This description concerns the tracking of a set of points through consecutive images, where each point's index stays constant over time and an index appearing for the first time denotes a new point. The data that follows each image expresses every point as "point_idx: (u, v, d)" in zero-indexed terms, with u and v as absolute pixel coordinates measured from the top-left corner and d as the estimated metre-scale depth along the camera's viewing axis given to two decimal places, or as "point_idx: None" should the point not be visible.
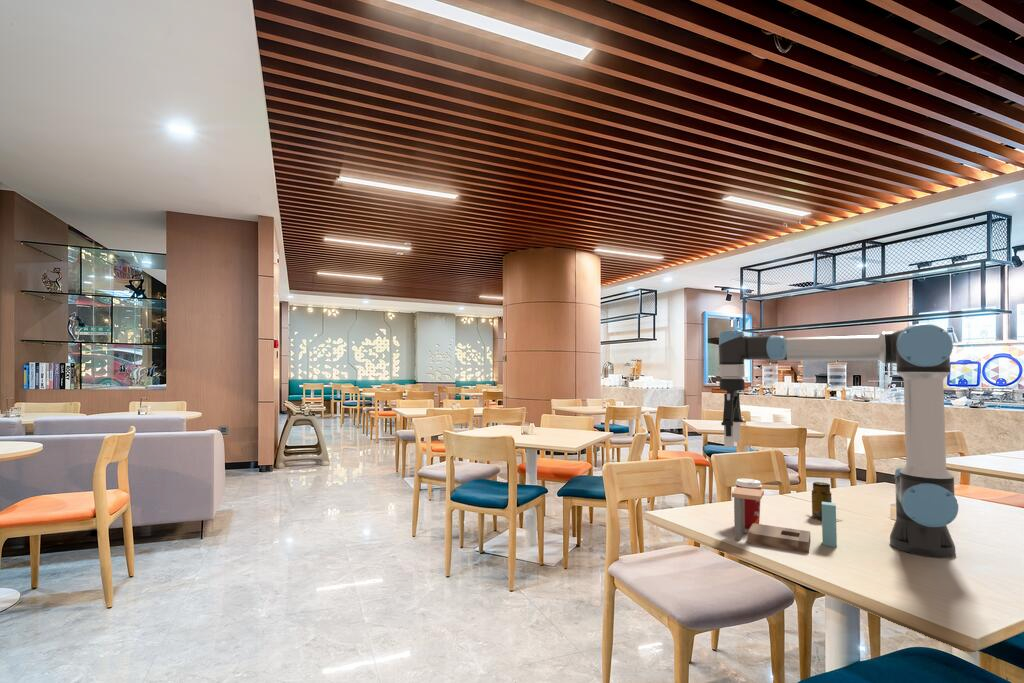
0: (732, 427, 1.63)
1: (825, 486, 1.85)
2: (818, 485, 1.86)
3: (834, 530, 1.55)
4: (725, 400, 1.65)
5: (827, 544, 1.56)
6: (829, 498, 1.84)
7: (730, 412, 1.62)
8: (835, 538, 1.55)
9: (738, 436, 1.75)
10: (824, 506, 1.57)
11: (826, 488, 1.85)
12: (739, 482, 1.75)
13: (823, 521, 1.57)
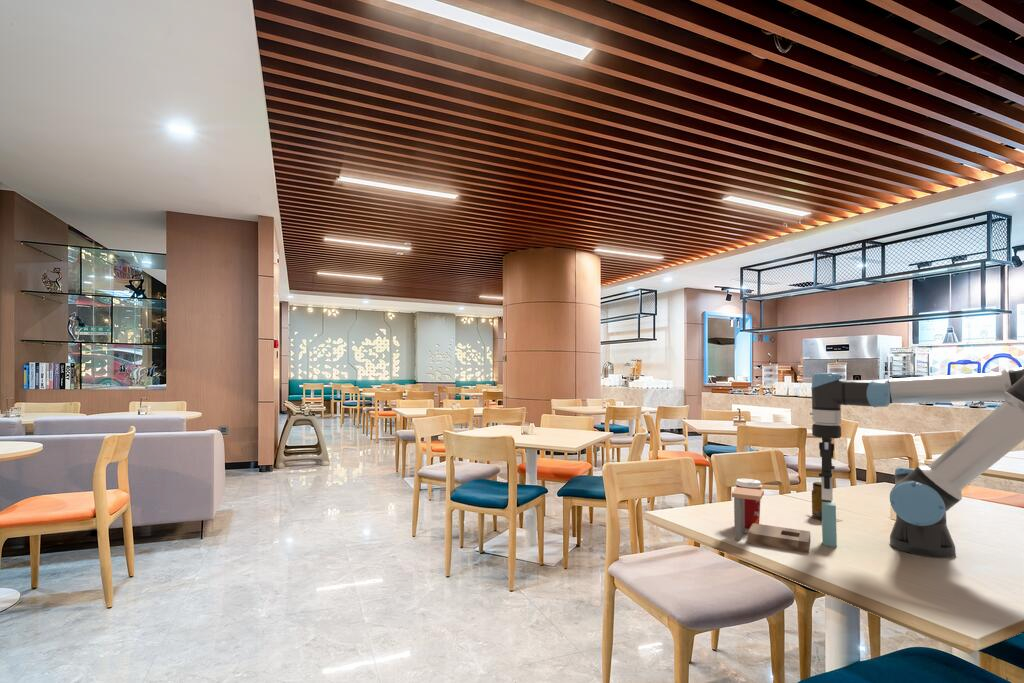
0: (831, 479, 1.52)
1: None
2: (818, 485, 1.86)
3: (834, 530, 1.55)
4: (822, 449, 1.53)
5: (827, 544, 1.56)
6: None
7: (829, 463, 1.51)
8: (835, 538, 1.55)
9: None
10: (824, 506, 1.57)
11: None
12: (739, 482, 1.75)
13: (823, 521, 1.57)
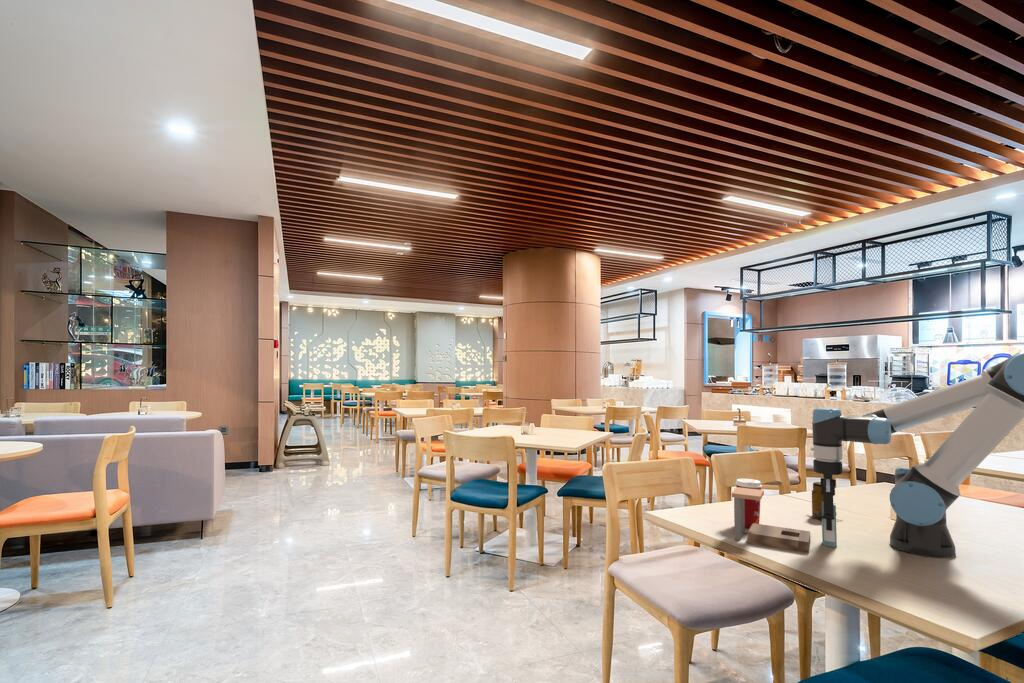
0: (833, 521, 1.55)
1: None
2: (818, 485, 1.86)
3: None
4: (824, 492, 1.54)
5: (827, 544, 1.56)
6: None
7: (831, 506, 1.53)
8: (835, 538, 1.55)
9: None
10: None
11: None
12: (739, 482, 1.75)
13: (823, 521, 1.57)
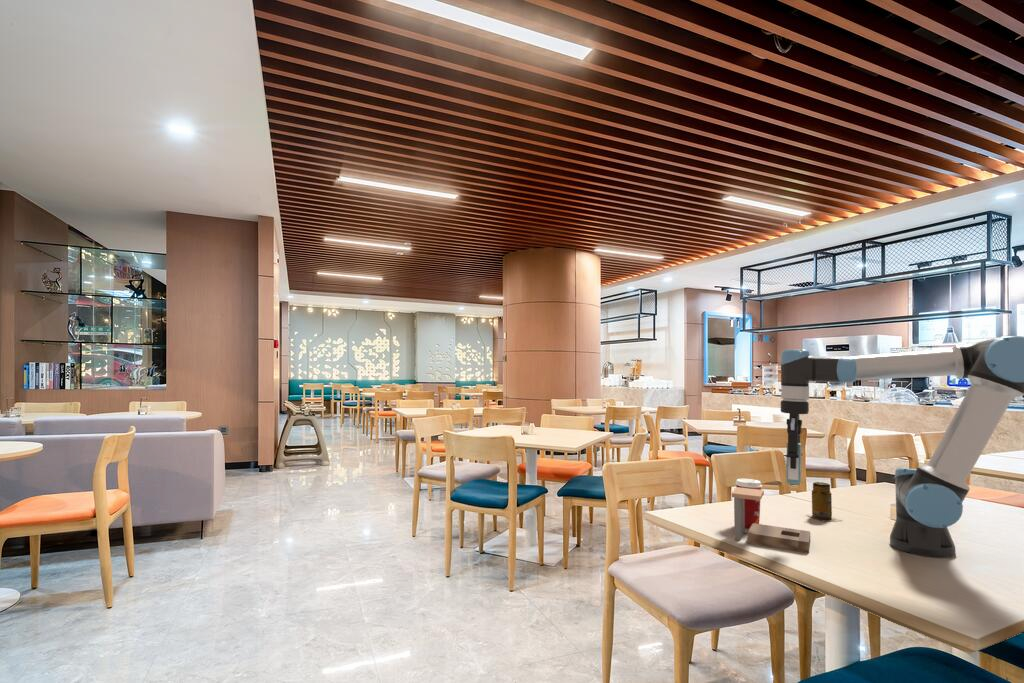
0: (797, 459, 1.57)
1: (825, 486, 1.85)
2: (818, 485, 1.86)
3: None
4: (788, 430, 1.55)
5: (791, 482, 1.58)
6: (829, 498, 1.84)
7: (795, 444, 1.54)
8: (799, 476, 1.57)
9: None
10: None
11: (826, 488, 1.85)
12: (739, 482, 1.75)
13: None
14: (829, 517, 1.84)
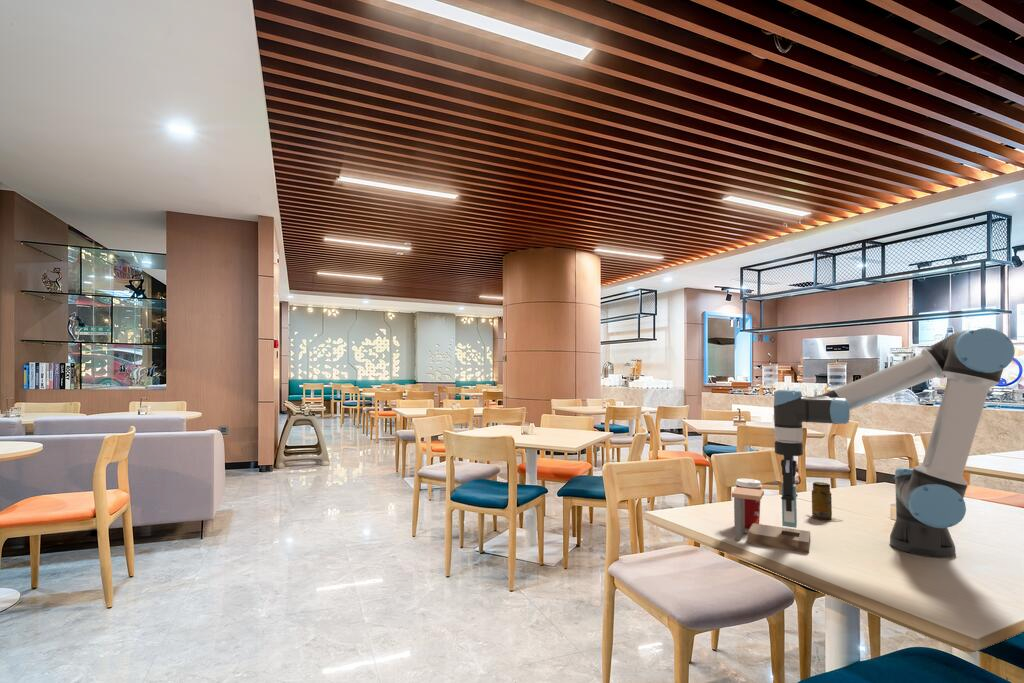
0: (793, 501, 1.55)
1: (825, 486, 1.85)
2: (818, 485, 1.86)
3: None
4: (783, 473, 1.54)
5: (787, 525, 1.57)
6: (829, 498, 1.84)
7: (790, 487, 1.53)
8: None
9: None
10: None
11: (826, 488, 1.85)
12: (739, 482, 1.75)
13: (783, 502, 1.57)
14: (829, 517, 1.84)
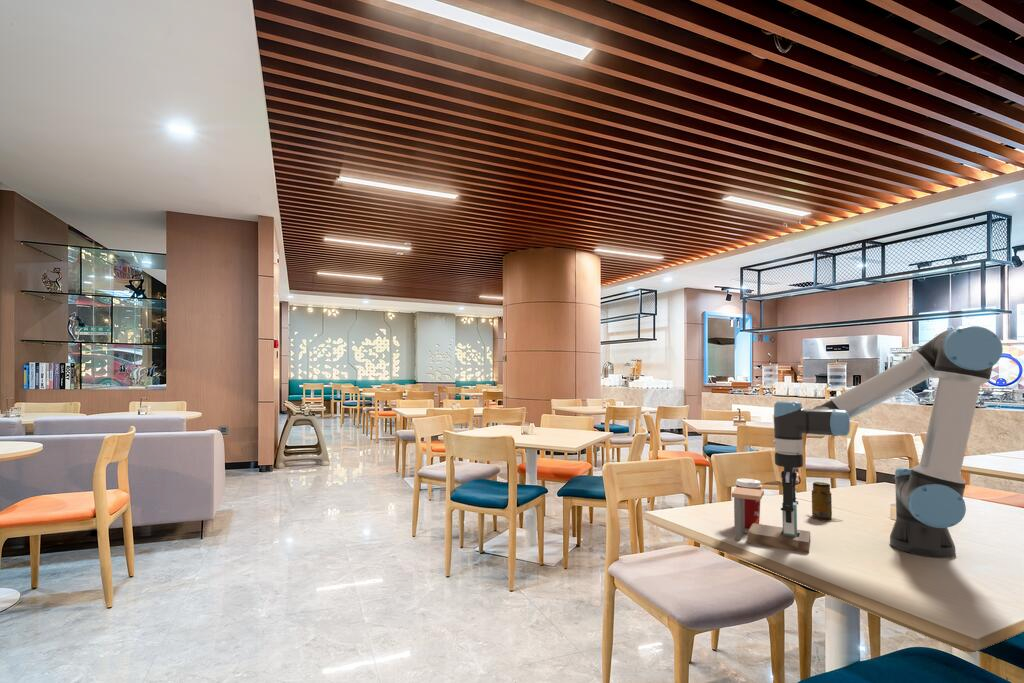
0: (792, 513, 1.53)
1: (825, 486, 1.85)
2: (818, 485, 1.86)
3: (794, 530, 1.55)
4: (783, 483, 1.53)
5: None
6: (829, 498, 1.84)
7: (790, 497, 1.52)
8: None
9: None
10: None
11: (826, 488, 1.85)
12: (739, 482, 1.75)
13: None
14: (829, 517, 1.84)
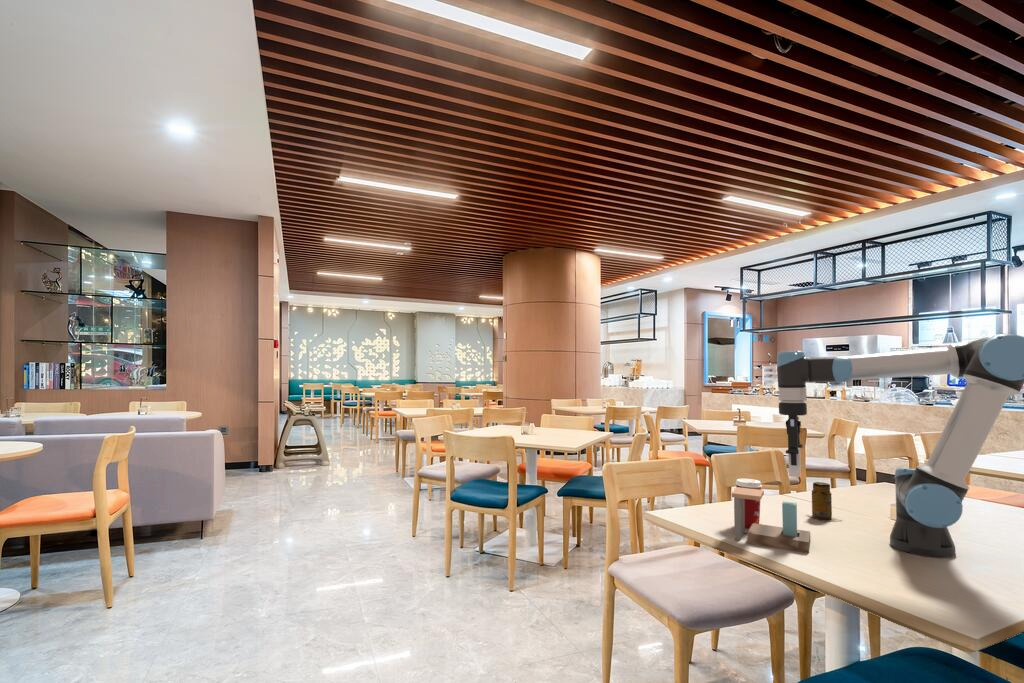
0: (797, 455, 1.53)
1: (825, 486, 1.85)
2: (818, 485, 1.86)
3: (794, 530, 1.55)
4: (788, 426, 1.54)
5: None
6: (829, 498, 1.84)
7: (795, 439, 1.52)
8: None
9: (798, 463, 1.64)
10: (785, 505, 1.57)
11: (826, 488, 1.85)
12: (739, 482, 1.75)
13: (783, 521, 1.57)
14: (829, 517, 1.84)
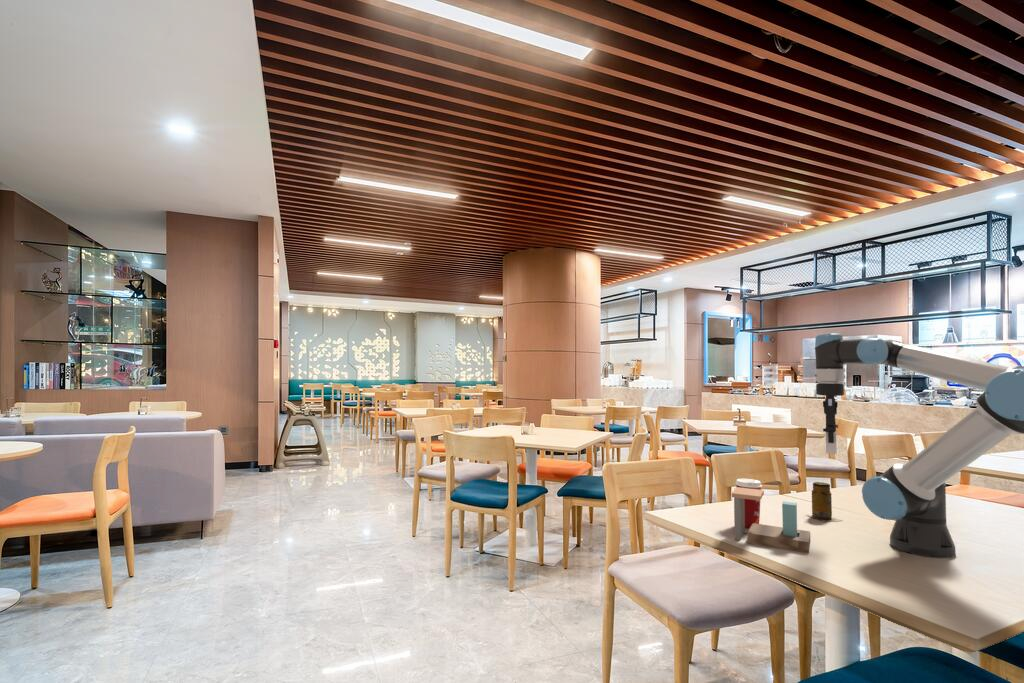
0: (835, 433, 1.59)
1: (825, 486, 1.85)
2: (818, 485, 1.86)
3: (794, 530, 1.55)
4: (826, 406, 1.60)
5: None
6: (829, 498, 1.84)
7: (833, 418, 1.58)
8: None
9: None
10: (785, 505, 1.57)
11: (826, 488, 1.85)
12: (739, 482, 1.75)
13: (783, 521, 1.57)
14: (829, 517, 1.84)
